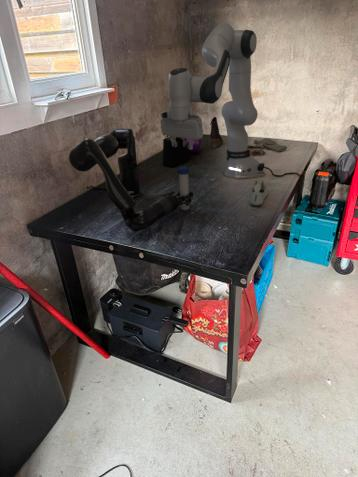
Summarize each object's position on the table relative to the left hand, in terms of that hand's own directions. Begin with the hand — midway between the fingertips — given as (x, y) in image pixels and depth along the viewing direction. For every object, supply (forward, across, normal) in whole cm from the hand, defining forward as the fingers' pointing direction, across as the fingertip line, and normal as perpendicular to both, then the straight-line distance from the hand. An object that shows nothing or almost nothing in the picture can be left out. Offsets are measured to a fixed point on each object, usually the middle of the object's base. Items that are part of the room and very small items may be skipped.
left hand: (187, 192), depth 152 cm
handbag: (+52, +46, +7) cm, 70 cm away
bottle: (-3, 0, +7) cm, 7 cm away
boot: (+103, +45, +7) cm, 113 cm away
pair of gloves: (+103, +10, +7) cm, 104 cm away
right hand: (-3, 0, -22) cm, 22 cm away
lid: (-3, 0, -12) cm, 13 cm away
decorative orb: (+75, +50, +7) cm, 90 cm away
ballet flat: (+25, -24, +7) cm, 36 cm away
